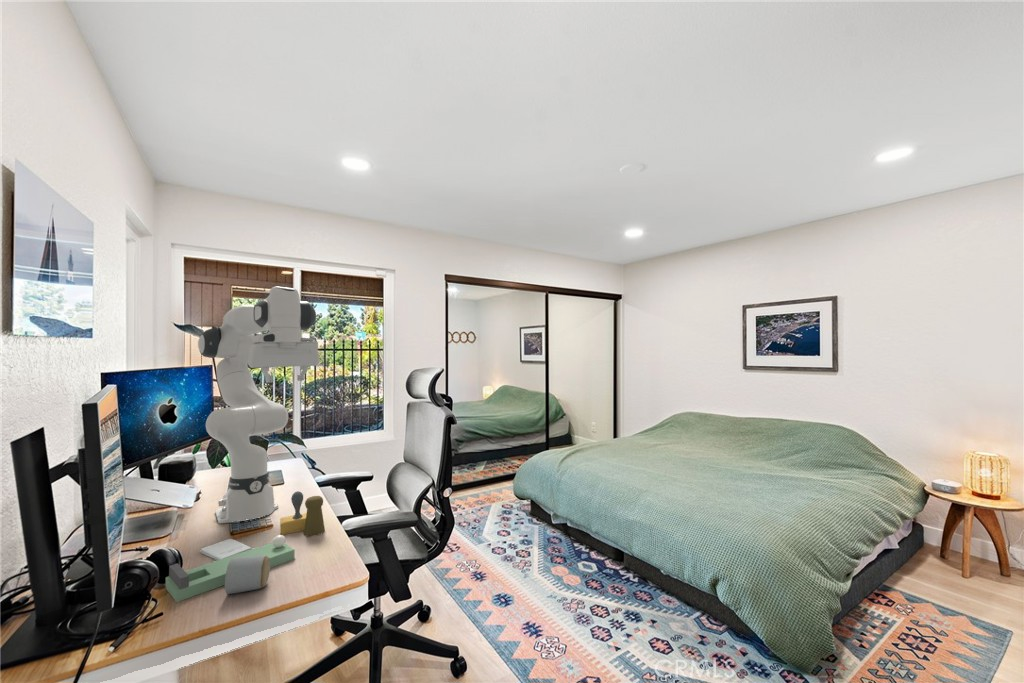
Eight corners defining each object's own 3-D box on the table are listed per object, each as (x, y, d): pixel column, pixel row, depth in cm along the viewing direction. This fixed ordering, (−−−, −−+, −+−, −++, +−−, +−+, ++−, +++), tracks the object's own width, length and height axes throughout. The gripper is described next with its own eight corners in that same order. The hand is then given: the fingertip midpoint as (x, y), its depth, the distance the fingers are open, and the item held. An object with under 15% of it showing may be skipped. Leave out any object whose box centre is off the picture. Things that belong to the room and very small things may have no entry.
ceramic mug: (264, 593, 99) (264, 559, 100) (223, 601, 97) (223, 566, 97) (273, 573, 109) (273, 542, 110) (236, 579, 107) (237, 547, 107)
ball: (270, 547, 118) (270, 536, 118) (282, 543, 120) (282, 532, 121) (275, 550, 116) (275, 539, 116) (287, 546, 118) (287, 535, 118)
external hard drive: (231, 543, 129) (252, 552, 122) (200, 554, 122) (221, 564, 115) (231, 538, 129) (252, 546, 122) (200, 548, 122) (220, 558, 115)
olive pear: (316, 536, 131) (316, 500, 131) (299, 535, 132) (299, 499, 132) (329, 528, 137) (328, 494, 137) (312, 527, 138) (312, 493, 138)
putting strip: (165, 587, 103) (165, 566, 103) (279, 548, 123) (279, 531, 123) (176, 602, 96) (176, 579, 97) (294, 558, 116) (294, 540, 117)
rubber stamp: (280, 535, 133) (280, 496, 133) (280, 529, 138) (280, 491, 138) (315, 528, 138) (314, 491, 138) (314, 522, 143) (313, 486, 143)
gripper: (313, 338, 144) (313, 379, 143) (245, 337, 128) (245, 383, 127) (322, 337, 140) (322, 379, 139) (253, 336, 124) (253, 383, 123)
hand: (285, 381), depth 133 cm, fingers open, 8 cm apart
